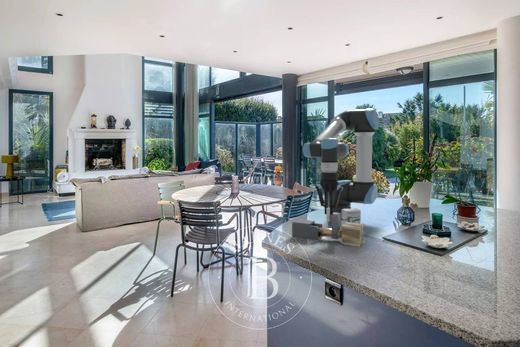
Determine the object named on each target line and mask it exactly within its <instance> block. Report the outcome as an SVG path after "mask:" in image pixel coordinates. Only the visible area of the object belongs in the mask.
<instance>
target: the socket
mask: <svg viewBox="0 0 520 347" xmlns="http://www.w3.org/2000/svg"><path fill="white" fill-rule="evenodd" d="M364 225H365V224H364V223H360V224H359V223H350V222H346V223H345V224H343V225H342V239H341V245H343V244H344V245H345V246H351V247H352V246H353V247H359V248H360V247H361V246H362V245H363V243H364V236H365V235H364V231H365V230H364V227H365V226H364Z"/></svg>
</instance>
